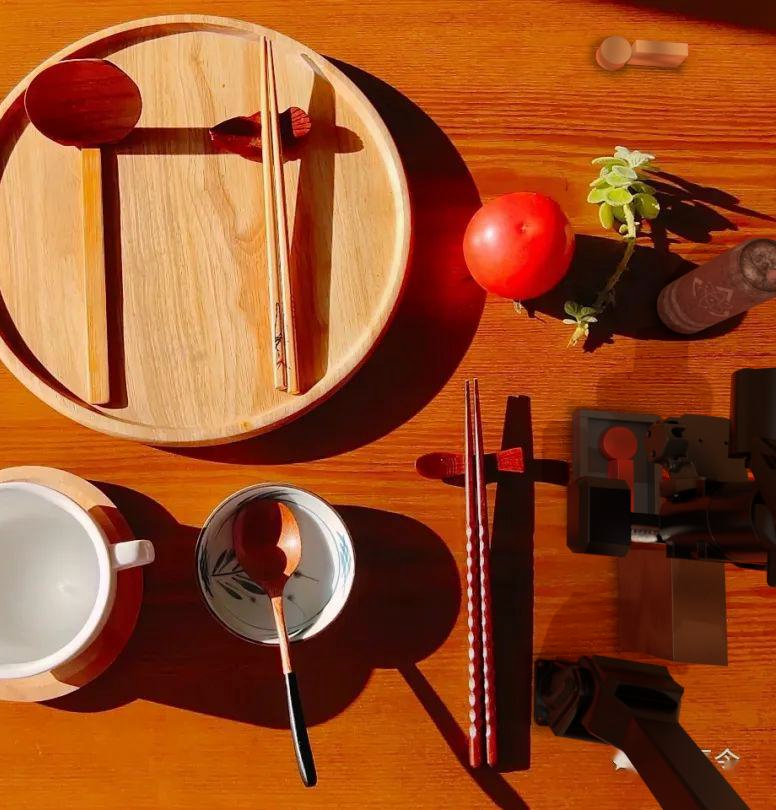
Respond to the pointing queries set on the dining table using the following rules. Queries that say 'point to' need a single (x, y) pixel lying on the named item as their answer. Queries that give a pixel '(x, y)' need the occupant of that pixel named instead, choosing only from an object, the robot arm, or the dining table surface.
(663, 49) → the birch spoon
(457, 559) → the dining table surface
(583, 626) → the dining table surface
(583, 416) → the tray
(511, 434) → the dining table surface
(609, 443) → the red spoon
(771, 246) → the can
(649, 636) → the stand
